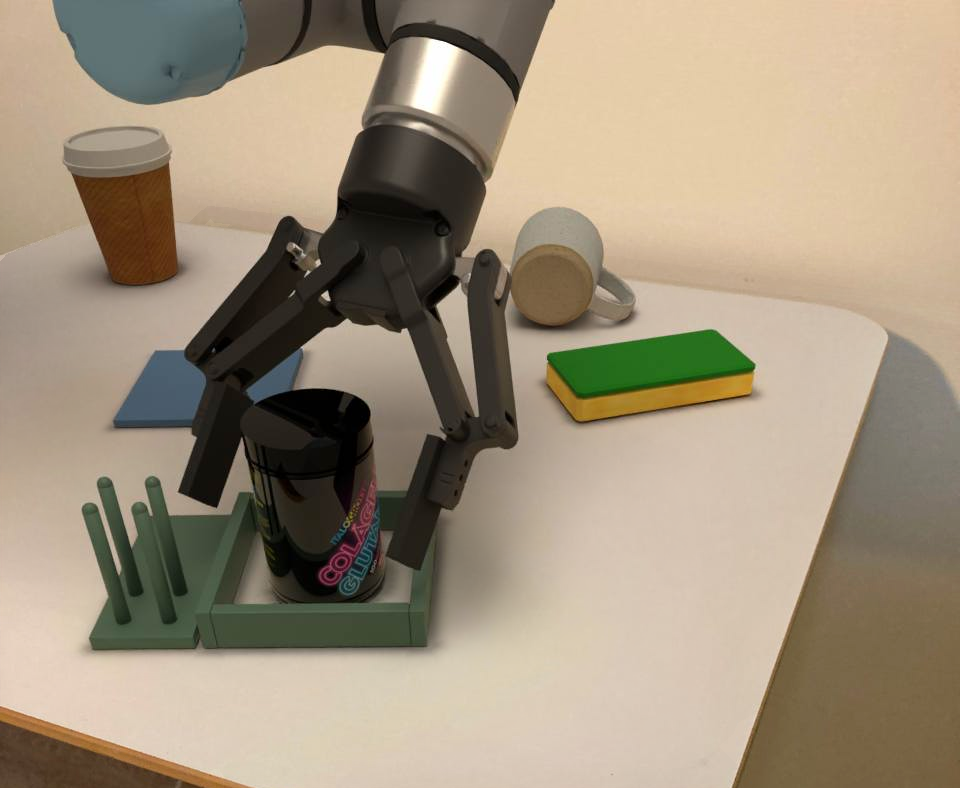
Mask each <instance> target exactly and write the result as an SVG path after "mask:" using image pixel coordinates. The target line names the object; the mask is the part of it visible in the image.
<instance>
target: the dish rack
mask: <svg viewBox="0 0 960 788" xmlns="http://www.w3.org/2000/svg"><path fill="white" fill-rule="evenodd" d="M96 488H97V491H98V494H99V498H100V502H101V505H102V509H103V511H104V515H105V518H106V521H107V525H108V528H109V531H110V535H111V538H112V541H113V545H114V549H115V551H116V555H117V558H118V563H119V565H120V571H119V572H118V569H117V565H116V563H115V559H114V556H113V553H112V549H111V545H110V542H109V539H108V536H107V532H106V530H105V526H104V522H103V520H102V519H103V518H102V516H101V512H100V510H99V509H100V508H99V506H98V505H97V504H95V503H94V502H90V501H89V502H85V503H84V504H83V505H82V506H81V515H82V518H83V521H84V523H85V527H86V529H87V530H86V531H87V533H88V536H89V539H90V542H91V546H92V549H93V552H94V556H95V558H96V562H97V565H98V567H99V571H100V574H101V578H102V580H103V584H104V588H105V591H106V595H107V599H106V600H105V603H104V605H103V607H102V609H101V612H100V613H99V616H98V618H97V620H96V622H95V624H94V626H93V627H92V629H91V632H90V634H89V637H88V640H89V643H90V646H91V648H92V649H93V650H118V649H119V650H120V649H121V650H123V649H124V650H125V649H127V650H128V649H129V650H130V649H131V650H132V649H134V650H136V649H140V650H141V649H195V648H196V647H197V645H198V641H199V639H200V641H201V645H202V648H203V649H218V648H223V649H225V648H226V649H227V648H228V649H229V648H327V647H328V648H330V647H331V648H334V647H336V648H337V647H338V648H339V647H342V648H343V647H344V648H345V647H346V648H347V647H427V646H428V636H429V624H430V612H431V600H432V598H431V597H432V586H433V575H434V566H435V565H434V564H435V553H436V552H435V551H436V541H437V540H436V539H437V527H438V522H437V523H436V526H435V529H434V532H433V535H432V538H431V541H430V544H429V547H428V549H427V552H426V555H425V558H424V561H423V564H422V567H421V570H420V571H418V570H415V569H413V570H412V571H413V572H412V580H411V590H410V598H409V599H410V600H409V602H359V603H311V604H289V603H233V602H234V598H235V596H236V593H237V589H238V587H239V583H240V581H241V577H242V575H243V571H244V568H245V565H246V562H247V559H248V556H249V553H250V549H251V546H252V544H253V540H254V537H255V535H256V532H260V527H259V521H258V516H257V511H256V505H255V500H254V494H253V491H238V494H237V496H236V499H235V502H234V504H233V507H232V510H231V513H230V514H172V515H171V514H169V511H168V507H167V502H166V497H165V495H164V490H163V486H162V483H161V480H160V478H159V477H157V476H155V475H149V476H147V478H145V480H144V488H145V492H146V495H147V500H148V504H149V507H150V511H151V514H152V515H151V514H150V511H149V507H148V505H147V504H146V503H145V502H143V501H136V502H134V503H132V505H131V510H130V511H131V515H132V518H133V522H134V526H135V529H136V532H137V536H136V538H135V541H134V543H133V545H132V546H131V541H130V538H129V535H128V532H127V528H126V524H125V521H124V517H123V514H122V509H121V507H120V506H121V505H120V503H119V500H118V499H119V498H118V497H117V493H116V490H115V485H114V482H113V480H112V479H111V478H110V477H108V476H101V477H99V478H97V480H96ZM407 491H408V489H407V490H406V489H401V490H399V489H397V490H394V489H393V490H392V489H391V490H389V489H388V490H378V498H379V508H380V519H381V529H382V531H394V529H395V526H396V523H397V520H398V517H399V514H400V511H401V508H402V505H403V502H404V500H405V497H406V494H407Z"/></svg>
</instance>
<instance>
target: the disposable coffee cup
mask: <svg viewBox="0 0 960 788" xmlns="http://www.w3.org/2000/svg"><path fill="white" fill-rule="evenodd" d="M62 146H63V154H62V156H61V162H62V164H63V165H64V166H66V169H67V171H68V172H69V173H70V174H71V176H72V179H73V182H74V184H75V186H76V187H75V188H76V190H77V192H78V195H79V198H80V200H81V202H82V206H83V207H84V210H85V213H86V216H87V218H88V220H89V223H90V226H91V228H92V231H93V234H94V236H95V239H96V242H97V244H98V246H99V247H98V248H99V249H100V252H101V255H102V257H103V259H104V262H105V265H106V268H107V271H108V272H109V276H110V278H111V280H112V281H113V282H115V283H119V284H123V285H131V286H138V285H140V286H141V285H149V284H153V283H158V282H159V283H160V282H163V281H164V280H167V279H170V278H172V277H173V276H174V275H176V274H177V273H178V271H179V262H178V252H177V251H178V250H177V240H176V226H175V215H174V204H173V203H174V202H173V190H172V181H171V180H172V179H171V168H170V161H171V159H172V156H171V154H172V153H173V148H172V147H173V146H172V145H171V144H169V143H168V141H167V139H166V136H165V134H164V131H162V130H161V129H159V128H157V127H153V126H146V125H138V124H137V125H111V126H110V125H109V126H104V127H98V128H92V129H87V130H84V131H80V132H77V133H73V134H72V135H70V136H68V137H66V138H65V139H64V141H63V145H62Z"/></svg>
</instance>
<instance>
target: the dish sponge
mask: <svg viewBox="0 0 960 788" xmlns="http://www.w3.org/2000/svg"><path fill="white" fill-rule="evenodd" d="M546 361H547V362H546V374H545V375H546V380H545V382H546V384H547V385H548V386H549V387H550V389H551V390H552V391H553V393H554V394H555V395H556V397H557V398H558V399H559V400H560V402H561V403H562V404H563V405H564V407H565V408H566V410H568V412H569V414H571V416H572V417H573V418H574V420H575V421H577V422H586V421H593V420H599V419H605V418H611V417H617V416H624V415H628V414H629V415H630V414H635V413H641V412H649V411H654V410H660V409H667V408H671V407H672V408H673V407H678V406H685V405H690V404H697V403H704V402H709V401H714V400H722V399H728V398H732V397H733V398H734V397H740V396H746V395H751V393H752V391H753V385H754V380H755V379H754V378H755V369H756V365H757V364H756V363H755V362H754V361H753V360H752V359H750V358H749V356H747V355H746V354H744V353H743V352H742V351H741V350H740V349H739V348H738V347H736V346H735V345H734V344H733V343H731V341H729V340H728V339H727V338H726V337H725V336H723V335H722V334H721V333H720V332H719V331H718V330H717V329H714V328H713V329H712V328H709V329H703V330H695V331H689V332H683V333H681V332H680V333H676V334H669V335H662V336H654V337H647V338H641V339H635V340H627V341H621V342H614V343H608V344H600V345H594V346H587V347H581V348H580V347H579V348H574V349H566V350H561V351H553V352H549V353H547V354H546Z"/></svg>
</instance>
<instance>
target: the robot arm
mask: <svg viewBox="0 0 960 788" xmlns="http://www.w3.org/2000/svg"><path fill="white" fill-rule="evenodd" d="M555 3H556V0H52V6H53V12H54V16H55V19H56V22H57V25H58V28H59V31H60V32H62V33H63V34H65V36H66V38H67V41H68V42H69V44H70V47H71V48H72V50H73V51H74V54H73V56H74V59H75V60H76V62H77V64H78V65H79V66H80V68H81V69H82V70H83V71H84V73H86V75H87V76H88V77H89V78H90V79H91V80H93V82H94V83H95V84H97V85H98V86H99V87H100V88H101V89H103V90H105V91H106V92H108V93H109V94H111V95H112V96H114V97H116V98H119V99H120V100H124V101H126V102H129V103H132V104H136V105H142V106H143V105H144V106H151V105H152V106H154V105H161V104H167V103H171V102H176V101H180V100H185V99H188V98H199V97H204V96H208V95H210V94H211V93H213V92H216V91H219V90H220V89H222V88H223V87H224V86H225V85H226V84H227V83H230V82H232V81H234V80H236V79H238V78H241V77H243V76H246V75H249V74H251V73H253V72H256V71H258V70H260V69H263V68H267V67H268V68H269V67H272V66H277V65H279V64H281V63H284V62H287V61H289V60H292V59H295V58H298V57H300V56H303V55H306V54H308V53H311V52H313V51H315V50H317V49H320V48H323V47H329V46H330V47H332V46H334V47H342V48H348V49H355V50H362V51H367V52H373V53H378V54H383V57H382V60H381V63H380V66H379V68H378V71H377V74H376V77H375V79H374V82H373V84H372V88H371V91H370V93H369V96H368V98H367V101H366V104H365V107H364V110H363V112H362V115H361V123H360V124H361V127H362V130H361V131H360V132H358V133H357V134H356V136H355V138H354V141H353V144H352V147H351V149H350V153H349V155H348V157H347V161H346V164H345V166H344V169H343V172H342V174H341V175H342V176H341V178H340V181H339V184H338V186H337V193H336V202H337V203H336V211H335V217H334V218H333V221H332V223H331V224H330V225H329V226H328V227H327V229H326V230H325V231H324V232H320V231H316V230H313V229H310V228H306V227H304V226H303V225H302V224H301V223H300V222H299V221H298V220H297V219H296V218H295V217H294V216H292V215H286V216H283V217H282V218H281V219H280V220H279V222H277V226H276V228H275V230H274V232H273V234H272V237H271V238H270V241H269V243H268V246H267V248H266V250H265V251H264V252H263V254H262V255H261V256H260V258H258V260H257V261H256V262H255V263H254V264H253V266H252V267H251V268H250V269H249V270H248V271H247V273H246V274H245V275H244V276H243V277H242V279H241V280H240V281H239V283H238V284H237V285H236V286H235V287H234V288H233V290H232V291H231V292H230V293H229V295H228V296H226V298H225V299H224V301H223V302H222V303H221V304H220V305H219V306H218V307H217V309H216V310H215V311H214V312H213V314H212V315H211V316H210V317H209V319H208V320H207V321H206V322H205V323H204V324H203V326H202V327H201V328H200V329H199V331H198V332H197V333H196V334H195V335H194V336H193V338H192V339H191V340H190V341H189V342H188V344H187V345H186V346H185V348H184V350H185V351H184V357H185V359H186V360H187V361H189V362H190V363H192V364H193V365H194V366H196V367H197V368H198V369H199V370H200V371H202V372H203V373H204V375H205V377H206V385H205V388H204V391H203V394H202V397H201V400H200V403H199V405H198V410H197V411H196V414H195V415H196V416H195V417H194V420H193V423H192V426H191V427H190V428H191V430H190V431H191V433H190V435H191V436H193V437H195V441H194V444H193V447H192V450H191V453H190V455H189V458H188V461H187V464H186V467H185V470H184V471H183V472H184V473H183V475H182V478H181V481H180V484H179V487H178V490H177V493H178V494H180V495H183V496H185V497H187V498H190V499H192V500H194V501H195V502H199V503H201V504H203V505H205V506H208V507H211V508H215V509H218V507H219V504H220V502H221V499H222V496H223V493H224V491H225V487H226V485H227V481H228V479H229V476H230V473H231V470H232V467H233V464H234V462H235V458H236V456H237V453H238V450H239V448H240V444H241V441H242V440H243V439H242V433H241V428H240V421H241V418H242V416H243V414H244V413H245V412H246V411H247V410H248V409H249V408H250V407H251V406H252V405H253V404H254V401H253V400H252V399H250V396H249V395H247V394H248V392H247V389H248V388H249V387H251V386H252V385H253V384H255V383H256V382H257V381H258V380H260V379H261V378H262V377H264V376H265V375H266V374H267V373H269V372H270V371H271V370H273V369H274V368H275V367H276V366H278V365H279V364H280V363H281V362H283V361H284V360H285V359H287V358H288V357H289V356H290V355H292V354H293V353H294V352H296V351H297V350H298V349H299V348H303V346H305V345H306V344H308V343H309V342H310V341H311V340H312V339H314V338H315V337H316V336H318V335H319V334H320V333H321V332H323V331H324V330H325V329H328V328H329V329H333V328H336V327H338V326H339V325H341V324H342V323H343V322H345V321H346V320H349V321H350V322H351V323H352V324H353V325H359V326H363V327H369V326H379V327H381V328H382V329H384V330H386V331H388V332H391V333H392V332H393V333H397V334H401V333H402V330H405V329H406V330H407V331H408V334H409V337H410V340H411V342H412V345H413V348H414V350H415V353H416V356H417V359H418V362H419V364H420V367H421V370H422V373H423V377H424V379H425V381H426V384H427V387H428V389H429V392H430V395H431V398H432V401H433V404H434V406H435V409H436V412H437V415H438V417H439V420H440V423H441V426H439V427H438V428H439V431H441V433H443V434H444V435H445V439H444V438H442V437H441V436H440V435H435V434H433V433H432V434H431V433H426V436H425V439H424V442H423V445H422V448H421V451H420V453H419V456H418V459H417V462H416V464H415V467H414V470H413V474H412V477H411V479H410V482H409V486H408V488H407V490H408V491H407V494H406V497H405V500H404V502H403V505H402V508H401V511H400V514H399V517H398V520H397V523H396V526H395V529H394V530H393V531H392V534H391V538H390V540H389V543H388V546H387V549H386V552H385V554H384V557H385V558H388V559H390V560H392V561H393V562H394V561H395V562H396V563H398V564H400V565H403V566H404V567H405V568H409V569H413V570H414V569H415V570H418V571H420V570H421V567H422V564H423V561H424V558H425V555H426V552H427V549H428V547H429V544H430V541H431V538H432V535H433V532H434V529H435V526H436V523H437V524H438V521H439V517H440V515H441V511H442V509H443V510H447V511H450V512H453V511H454V510H455V509H456V508H457V506H458V505H459V503H460V502H461V499H462V496H463V492H464V490H465V487H466V486H465V485H466V483H467V481H468V477H469V474H470V471H471V469H472V467H473V463H474V460H475V458H476V456H477V455H478V454H479V453H480V452H482V451H484V450H488V449H496V448H500V449H502V450H511V449H514V447H515V446H516V445H517V444H518V442H519V437H520V435H519V426H518V418H517V417H518V416H517V409H516V408H517V407H516V400H515V391H514V384H513V374H512V365H511V364H512V363H511V357H510V347H509V346H510V345H509V339H508V331H507V322H506V320H507V319H506V310H507V309H506V308H507V305H508V301H509V297H510V296H509V295H510V293H511V291H510V288H511V284H512V277H511V275H510V271H509V270H508V269H507V268H506V266H505V265H504V263H503V262H502V261H501V259H500V258H499V256H498V255H497V253H496V252H495V251H494V250H493V249H492V248H491V249H490V248H484V249H482V250H480V251H479V252H478V253H477V254H476V255H475V257H468V256H466V257H465V256H463V253H464V251H465V250H466V249H467V248H469V247H468V246H470V243H471V239H472V237H473V234H474V231H475V228H476V225H477V222H478V219H479V217H480V216H479V215H480V213H481V211H482V207H483V205H484V201H485V199H486V196H487V186H486V183H487V182H488V181H489V180H490V179H491V178H492V176H493V173H494V171H495V168H496V165H497V162H498V159H499V156H500V154H501V150H502V148H503V144H504V142H505V139H506V136H507V134H508V131H509V128H510V124H511V122H512V119H513V117H514V113H515V110H516V107H517V104H518V101H519V98H520V93H521V91H522V88H523V86H524V83H525V80H526V77H527V74H528V72H529V69H530V66H531V63H532V60H533V58H534V55H535V52H536V49H537V47H538V44H539V41H540V39H541V37H542V33H543V31H544V28H545V25H546V22H547V21H548V17H549V14H550V11H551V10H553V8H554V6H555ZM318 260H319V262H320V264H319V265H318V266H317V263H316V262H317V261H318ZM307 272H309V273H308V274H307ZM459 285H460V289H461V292H462V293H463V294H464V296H465V297H466V301H467V302H466V303H467V304H466V305H467V314H468V315H467V316H468V324H469V333H470V344H471V353H472V360H473V371H474V381H475V388H476V389H475V391H476V398H477V409H478V416H476V415H475V412H474V409H473V406H472V404H471V401H470V399H469V396H468V393H467V390H466V388H465V384H464V382H463V379H462V376H461V374H460V372H459V369H458V366H457V363H456V361H455V357H454V356H453V353H452V350H451V347H450V344H449V341H448V333H447V331H446V327H445V326H444V325H445V324H444V323H443V320H442V317H441V314H440V312H439V309H438V306H437V305H439V304H440V303H441V302H442V301H443V300H444V299H446V298H447V297H448V296H449V295H450V294H451V293H452V292H454V291H455V290H456V289H457V288H458V287H459ZM326 292H327V294H328V298H329V300H327V299H326V298H324V296H323V295H324V294H325V293H326ZM212 350H214V352H212Z"/></svg>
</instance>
